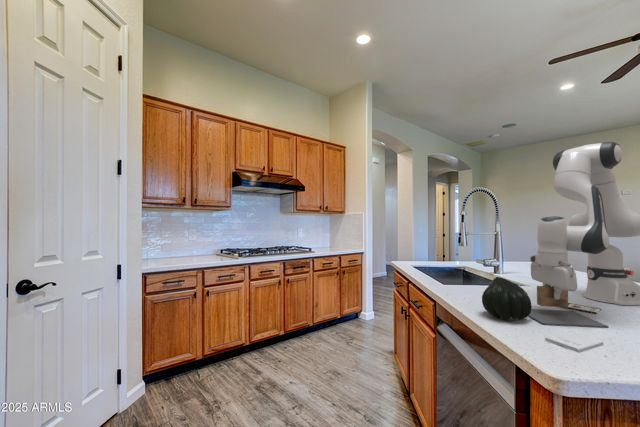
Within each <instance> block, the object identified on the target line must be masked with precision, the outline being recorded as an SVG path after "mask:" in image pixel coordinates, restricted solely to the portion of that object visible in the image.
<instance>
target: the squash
mask: <svg viewBox="0 0 640 427" xmlns="http://www.w3.org/2000/svg"><path fill="white" fill-rule="evenodd" d="M481 303H482V304H481V305H482V307H483V308H484V309H485V311H486V312H487V313H488V314H490V316H492V317H493V318H496V319H501V320H503V321H509V320H511V319H512V320H523V319H527V318H529V317H528V316H529V314H530V313H531V309H533V308H532V300H531V298H530V296H529V295H528V293H527V292H526V290H525V289H524V288H523V287H521V286H520V285H518V284H517V283H514V282H512V281H510V280H508V279H506V278H503V277H500V276H499V277H498V276H495V277H494V278H493V279H492V281H491V282H490V283H489V285H488V286H487V287H486V288H485V290H484V291H483V293H482V296H481Z"/></svg>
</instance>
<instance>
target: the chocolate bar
mask: <svg viewBox="0 0 640 427" xmlns="http://www.w3.org/2000/svg"><path fill="white" fill-rule="evenodd" d="M560 308H561V309H565V310H569V311H574V312H581V313H586V314H592V315H597V314H599V313H600V312H601V311H602V308H599V307H592V306H587V305H582V304H577V303H570V302H568V307H559V309H560Z"/></svg>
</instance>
